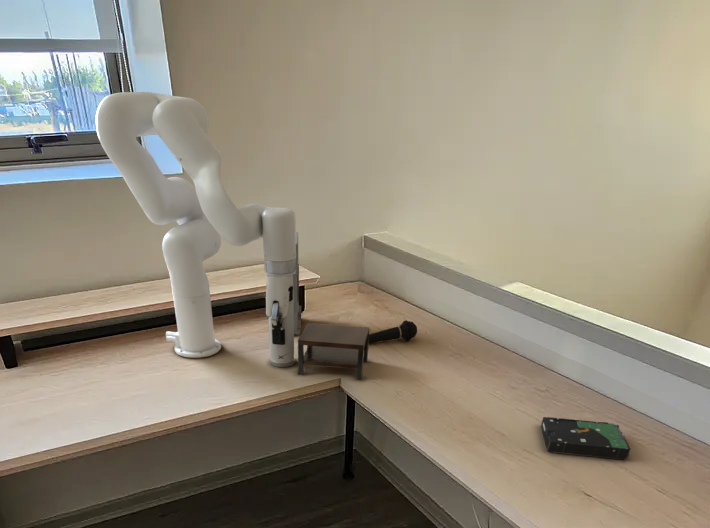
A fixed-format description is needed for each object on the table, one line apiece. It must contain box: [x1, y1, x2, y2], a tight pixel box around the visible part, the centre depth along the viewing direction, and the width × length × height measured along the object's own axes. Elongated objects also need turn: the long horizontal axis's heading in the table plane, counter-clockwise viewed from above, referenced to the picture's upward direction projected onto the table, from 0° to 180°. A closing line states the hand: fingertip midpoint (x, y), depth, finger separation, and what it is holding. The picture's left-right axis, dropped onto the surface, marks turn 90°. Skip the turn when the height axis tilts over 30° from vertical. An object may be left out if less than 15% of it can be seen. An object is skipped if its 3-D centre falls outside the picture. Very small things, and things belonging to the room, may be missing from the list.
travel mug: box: [268, 286, 295, 368], centre depth 140 cm, size 6×7×20 cm
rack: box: [297, 322, 370, 381], centre depth 140 cm, size 16×12×9 cm
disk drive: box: [540, 416, 632, 460], centre depth 112 cm, size 10×3×15 cm
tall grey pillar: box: [293, 231, 302, 336], centre depth 159 cm, size 14×6×25 cm, turn 179°
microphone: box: [368, 320, 418, 345], centre depth 155 cm, size 6×6×20 cm
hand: (282, 338), depth 142 cm, fingers closed on travel mug, 6 cm apart
